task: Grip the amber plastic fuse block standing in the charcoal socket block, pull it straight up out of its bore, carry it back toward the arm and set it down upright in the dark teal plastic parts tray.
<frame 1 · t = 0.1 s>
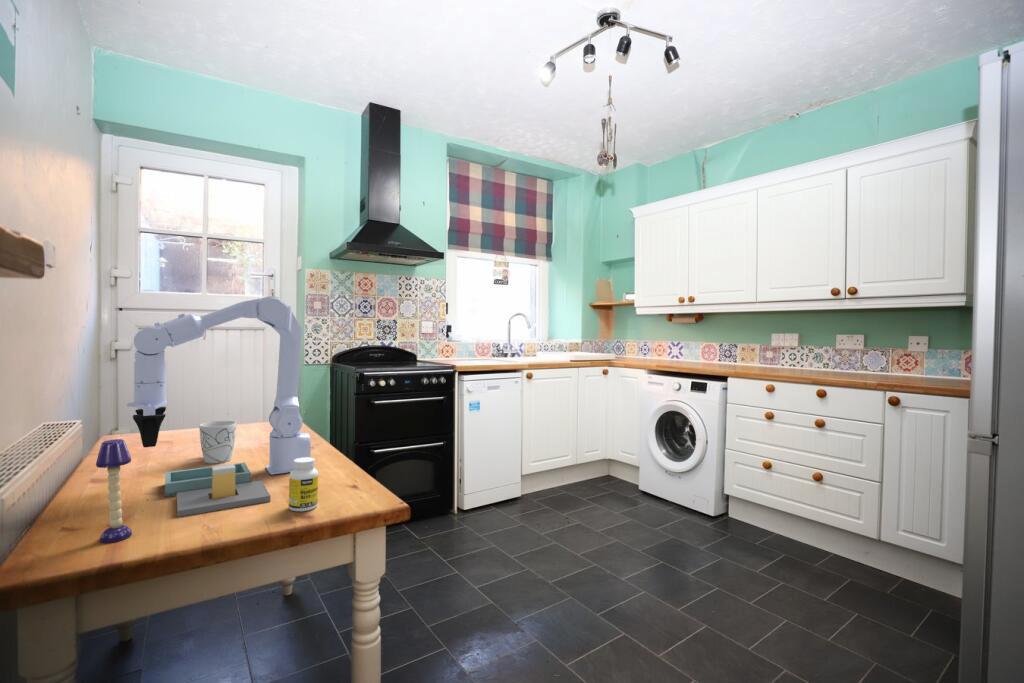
hand: (150, 443, 108), 10 cm above the table, fingers open, 7 cm apart
socket block: (223, 499, 102), on the table
fuse: (223, 500, 102), resting in socket block
supplement bottle: (303, 508, 99), on the table
parts tray: (207, 484, 111), on the table
toy lamp: (114, 538, 83), on the table
mug: (215, 460, 132), on the table
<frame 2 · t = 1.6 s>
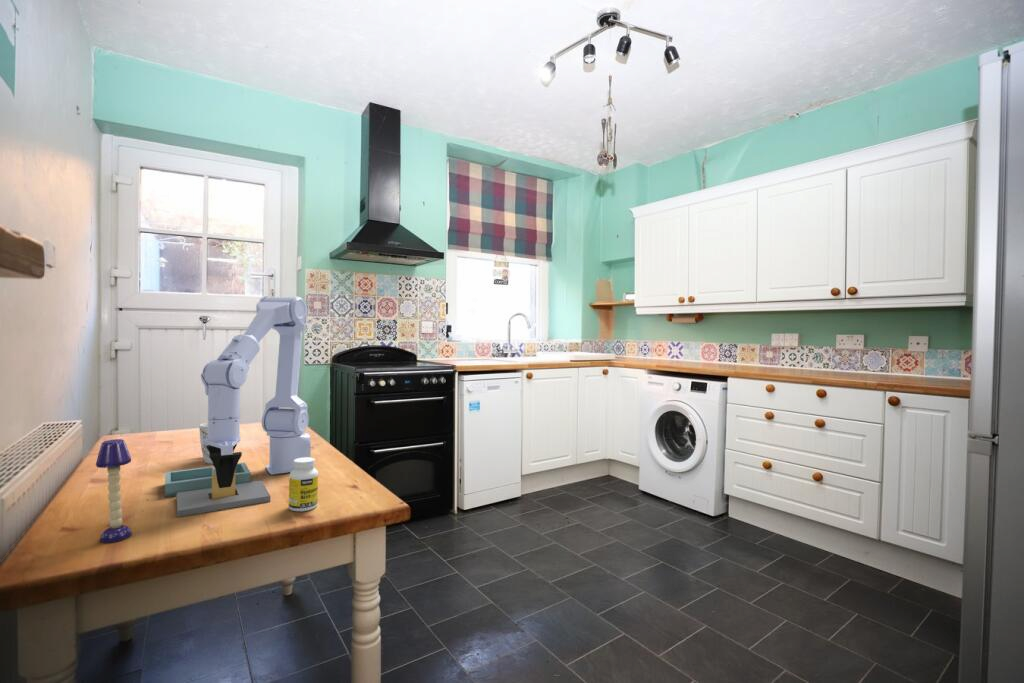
hand: (223, 482, 102), 4 cm above the table, fingers open, 7 cm apart
nothing on the table moved.
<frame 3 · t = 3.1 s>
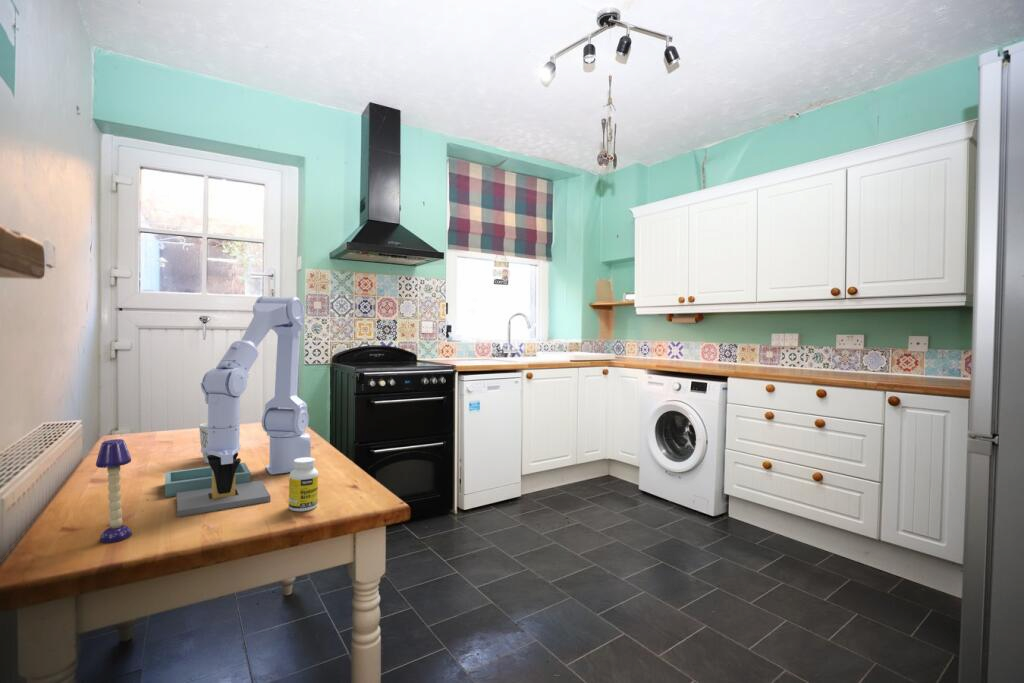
hand: (223, 490, 102), 2 cm above the table, fingers closed on fuse, 3 cm apart
fuse: (223, 499, 102), resting in socket block, touching gripper
everything else where it was.
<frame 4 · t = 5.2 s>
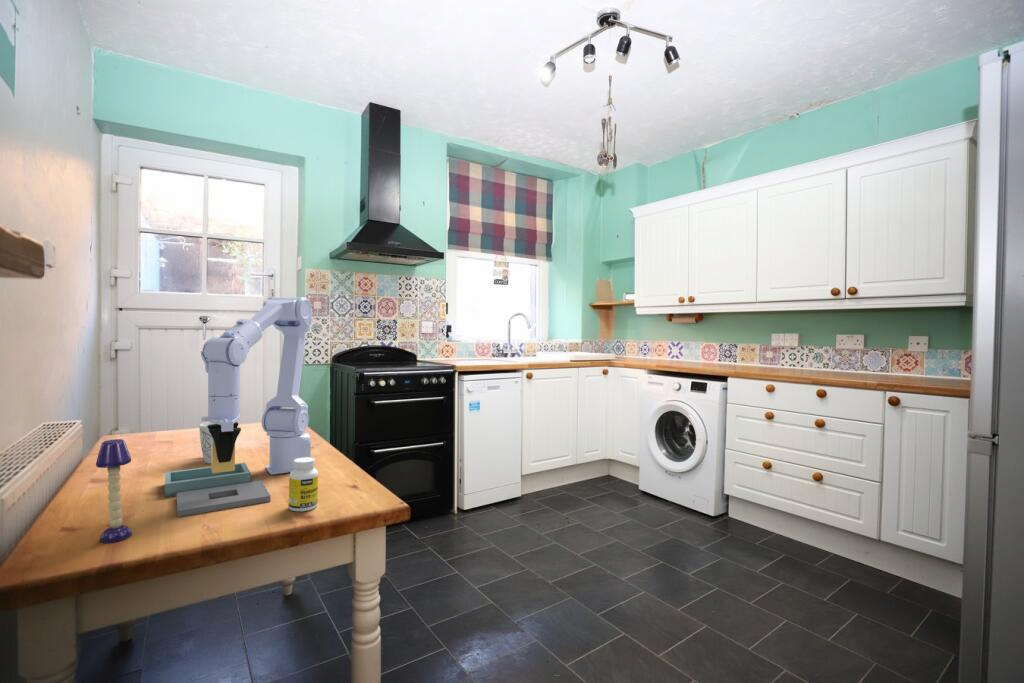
hand: (223, 459, 102), 8 cm above the table, fingers closed on fuse, 3 cm apart
fuse: (223, 470, 102), point 6 cm above the table, touching gripper
everything else where it was.
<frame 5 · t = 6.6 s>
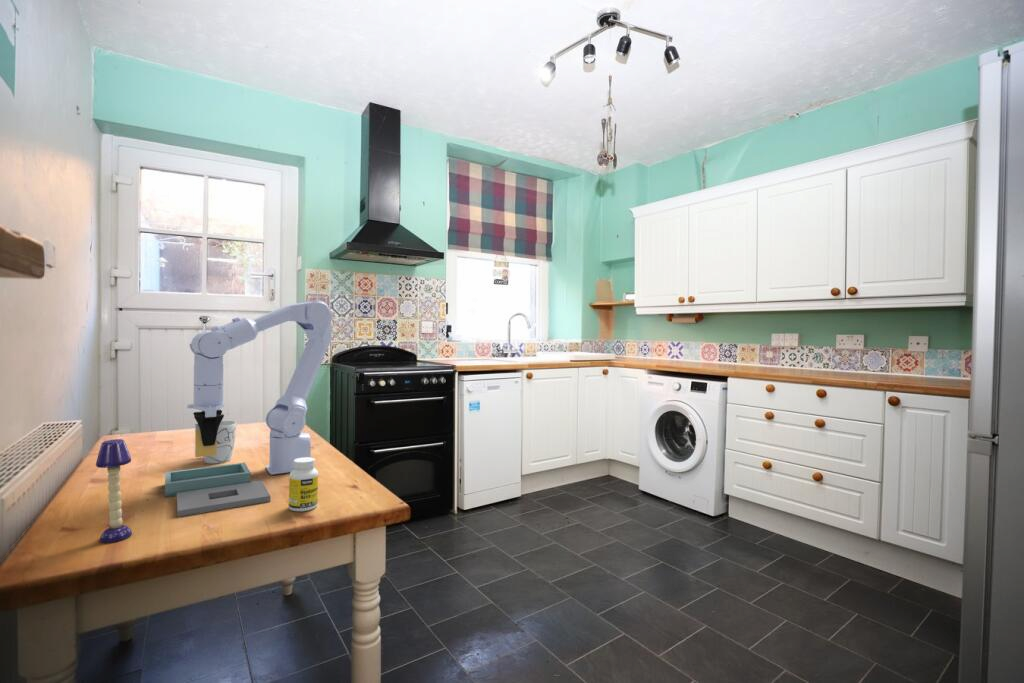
hand: (208, 443, 111), 9 cm above the table, fingers closed on fuse, 3 cm apart
fuse: (205, 454, 111), point 7 cm above the table, touching gripper
everything else where it was.
when the fingers open (5 cm above the table, at t = 7.8 s): fuse drops 1 cm, resting on parts tray.
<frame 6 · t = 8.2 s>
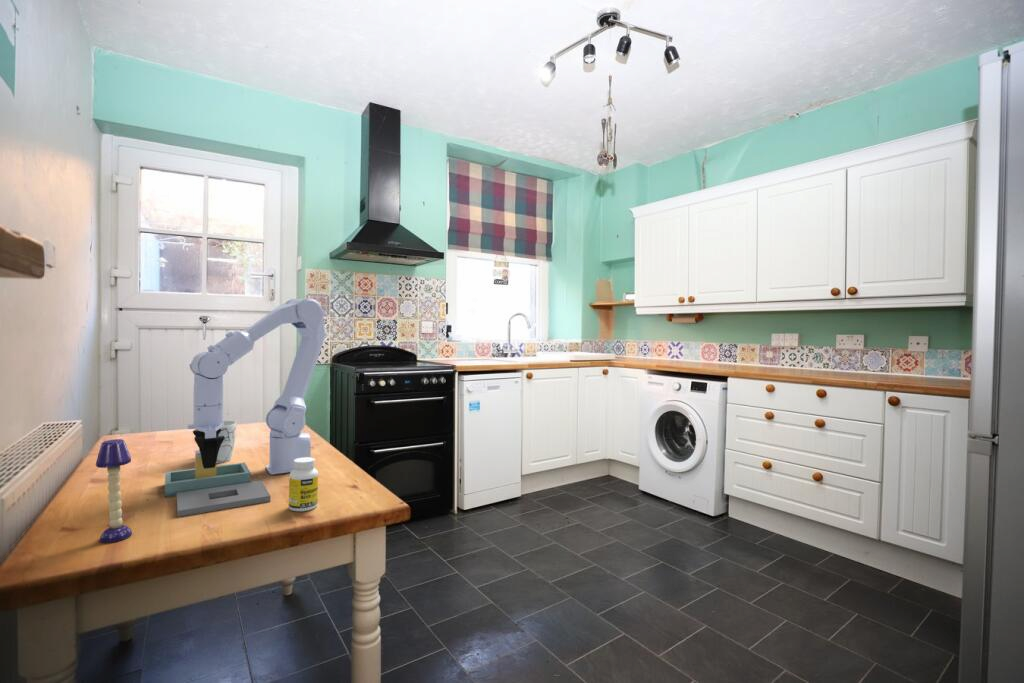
hand: (208, 463, 111), 5 cm above the table, fingers open, 7 cm apart
fuse: (205, 481, 111), point 1 cm above the table, touching parts tray
everything else where it was.
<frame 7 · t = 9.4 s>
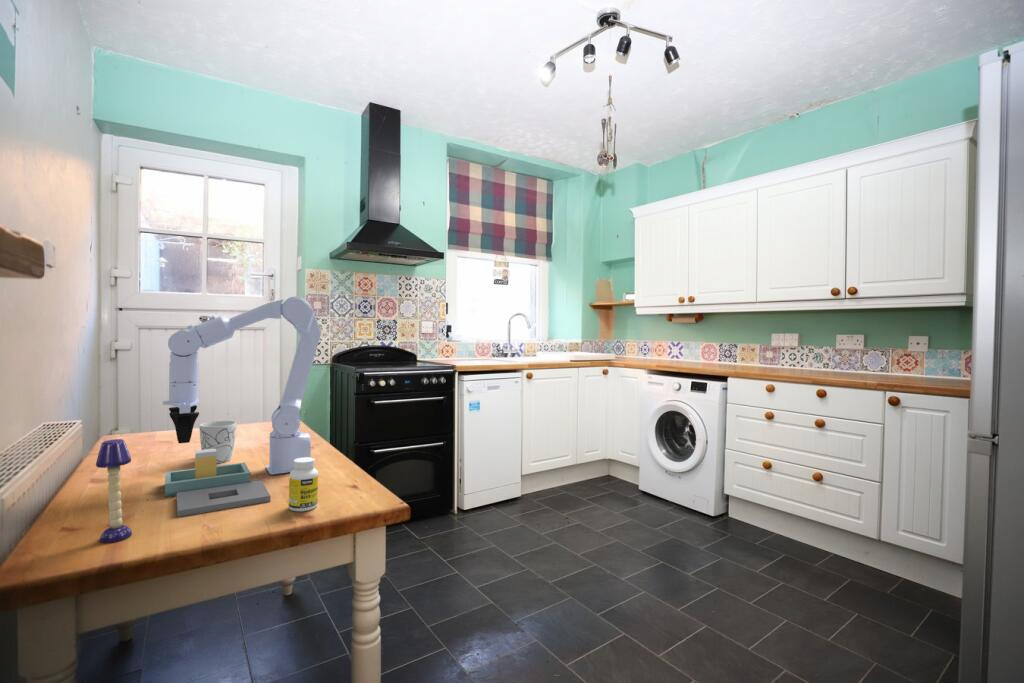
hand: (183, 439, 114), 10 cm above the table, fingers open, 7 cm apart
nothing on the table moved.
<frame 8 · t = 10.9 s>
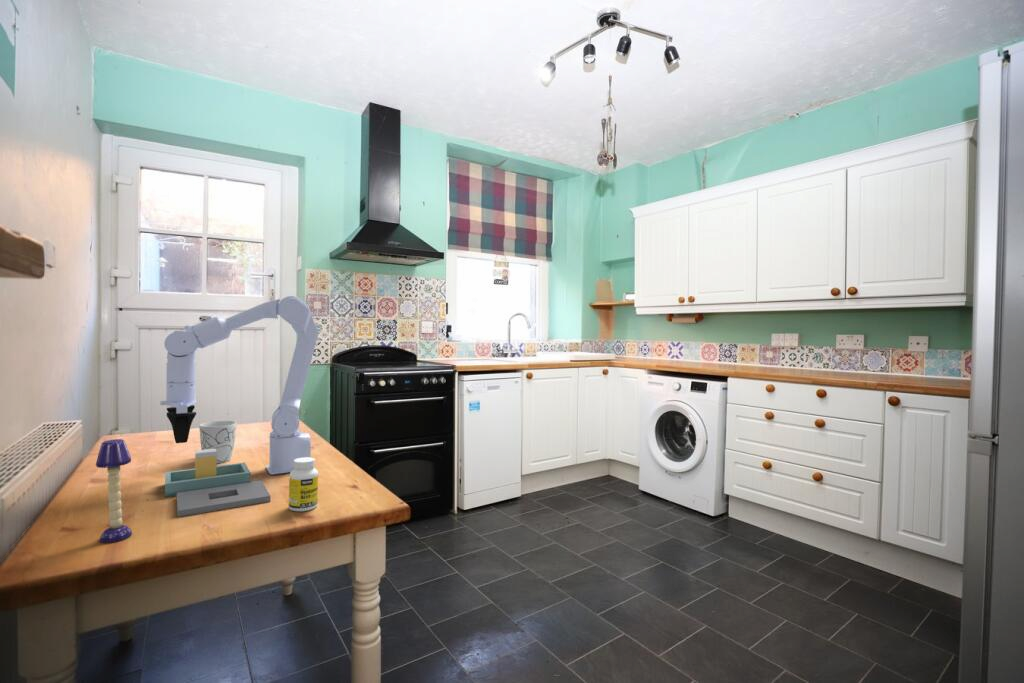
hand: (181, 439, 115), 9 cm above the table, fingers open, 7 cm apart
nothing on the table moved.
at the end: fuse inside the target area on the parts tray (0.4 cm from its centre), point 0.8 cm above the parts tray's base; fuse tilted 0°; the gripper is holding nothing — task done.
